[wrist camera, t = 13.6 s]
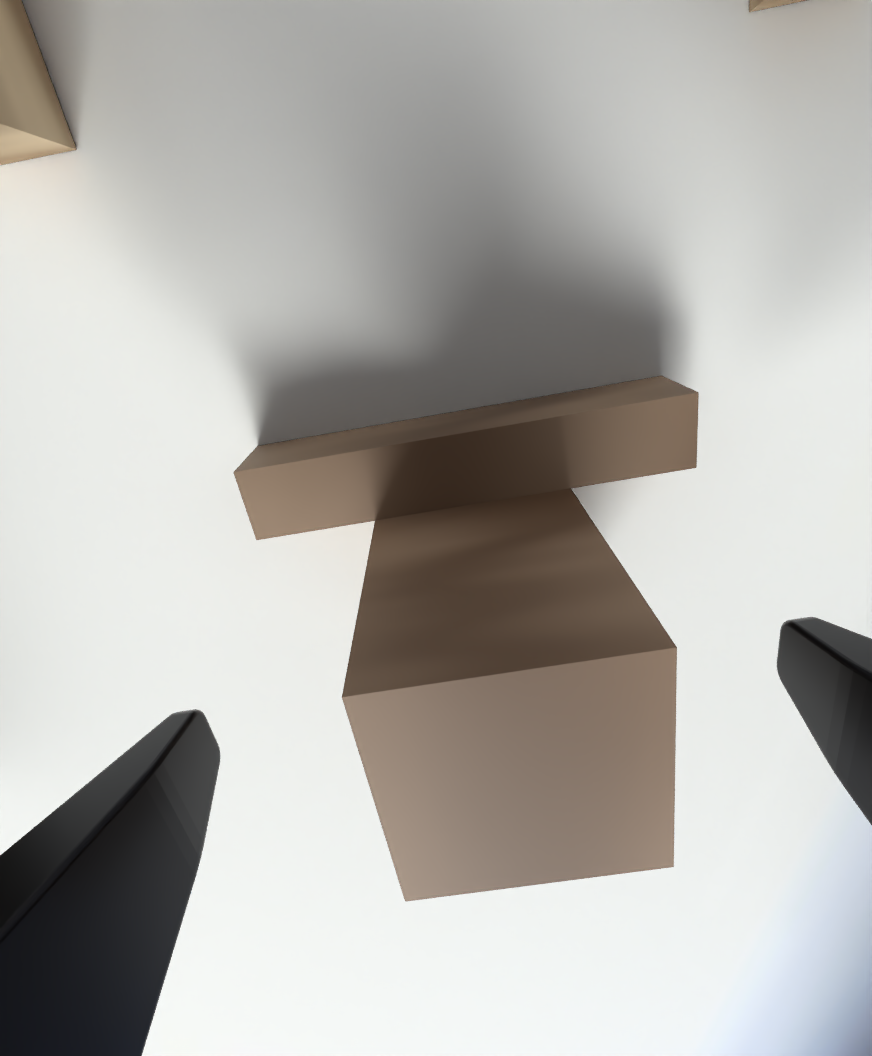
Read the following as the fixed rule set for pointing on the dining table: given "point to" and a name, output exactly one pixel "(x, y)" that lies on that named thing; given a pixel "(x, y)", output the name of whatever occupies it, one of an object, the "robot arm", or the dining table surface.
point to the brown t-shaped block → (500, 632)
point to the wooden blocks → (30, 99)
